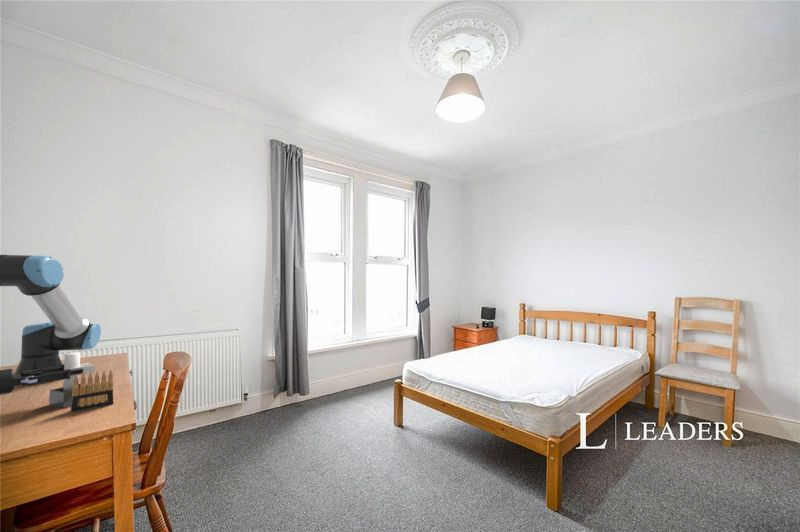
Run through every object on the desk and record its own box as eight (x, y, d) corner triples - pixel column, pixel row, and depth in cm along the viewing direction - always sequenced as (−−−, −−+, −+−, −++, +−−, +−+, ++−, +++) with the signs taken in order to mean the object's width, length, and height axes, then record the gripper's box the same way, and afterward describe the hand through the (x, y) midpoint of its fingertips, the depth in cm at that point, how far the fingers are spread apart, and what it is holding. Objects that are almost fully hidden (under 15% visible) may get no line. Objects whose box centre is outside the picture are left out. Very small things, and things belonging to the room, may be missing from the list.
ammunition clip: (70, 412, 112) (72, 375, 112) (70, 410, 113) (72, 374, 113) (113, 404, 119) (114, 369, 120) (112, 402, 120) (114, 368, 121)
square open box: (49, 404, 117) (49, 390, 118) (77, 397, 125) (78, 383, 125) (63, 408, 115) (64, 393, 115) (91, 400, 122) (92, 386, 123)
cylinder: (59, 394, 119) (62, 354, 119) (74, 391, 122) (76, 352, 123) (67, 396, 117) (69, 355, 118) (81, 392, 121) (83, 353, 122)
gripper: (-13, 390, 110) (83, 374, 129) (-3, 401, 100) (99, 382, 120) (-11, 367, 110) (84, 354, 130) (-1, 375, 101) (100, 360, 120)
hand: (91, 367), depth 125 cm, fingers closed on cylinder, 4 cm apart
